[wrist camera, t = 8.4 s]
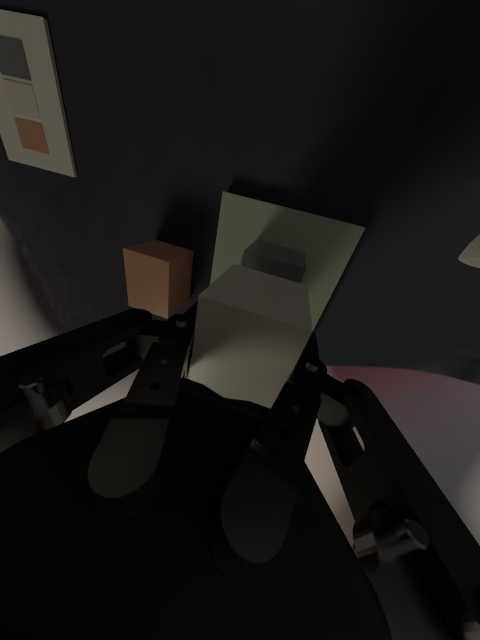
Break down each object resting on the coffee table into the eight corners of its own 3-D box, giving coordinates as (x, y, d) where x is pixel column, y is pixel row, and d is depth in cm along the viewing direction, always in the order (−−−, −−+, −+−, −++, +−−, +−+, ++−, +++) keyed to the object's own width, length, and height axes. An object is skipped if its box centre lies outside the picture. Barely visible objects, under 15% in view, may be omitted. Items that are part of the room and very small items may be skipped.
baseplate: (226, 192, 18) (198, 187, 13) (361, 226, 17) (389, 236, 12) (210, 306, 24) (186, 334, 19) (306, 336, 23) (309, 375, 18)
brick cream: (233, 263, 12) (198, 295, 8) (307, 285, 12) (312, 331, 7) (218, 340, 15) (187, 392, 11) (275, 359, 15) (267, 421, 11)
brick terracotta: (156, 239, 22) (122, 248, 18) (194, 250, 22) (169, 262, 17) (156, 288, 25) (128, 305, 21) (189, 299, 25) (167, 318, 21)
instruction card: (-39, 4, 16) (-46, 0, 16) (46, 20, 15) (41, 16, 15) (12, 160, 21) (7, 159, 21) (77, 177, 21) (73, 177, 20)
